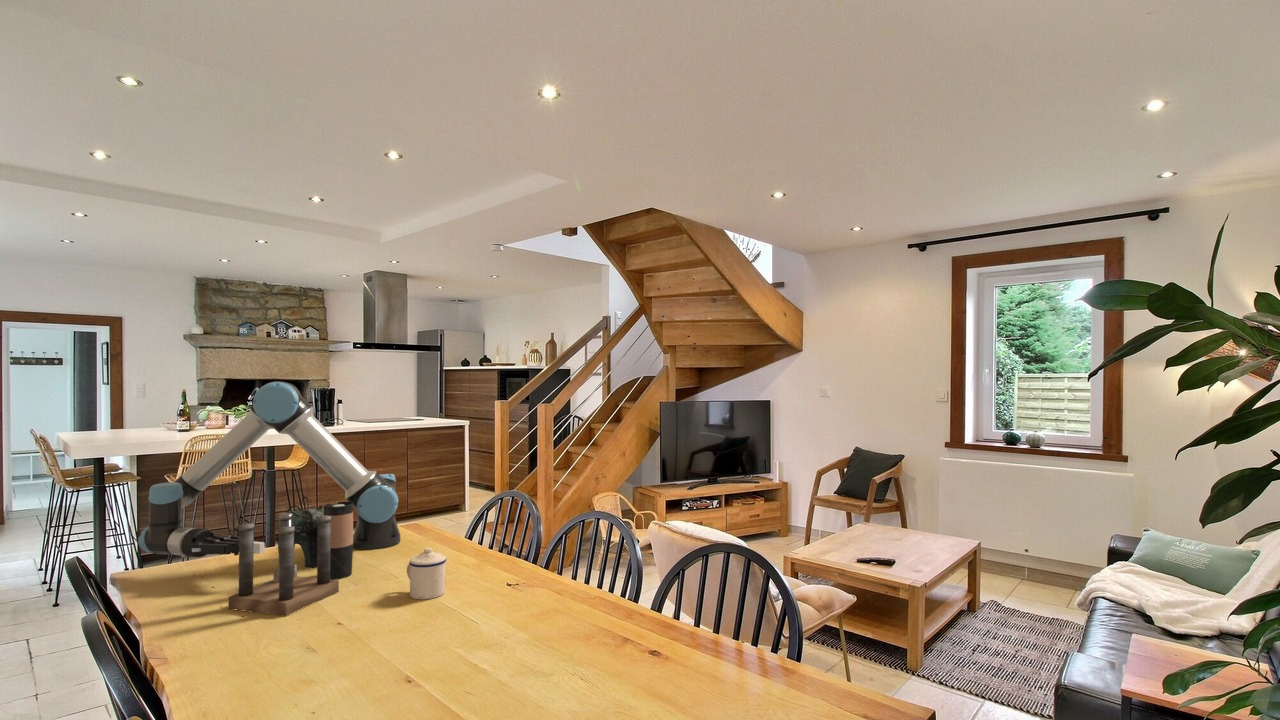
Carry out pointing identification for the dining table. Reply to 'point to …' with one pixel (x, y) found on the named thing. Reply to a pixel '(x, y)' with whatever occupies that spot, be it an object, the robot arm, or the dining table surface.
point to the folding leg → (285, 521)
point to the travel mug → (340, 539)
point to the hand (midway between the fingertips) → (261, 548)
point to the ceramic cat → (306, 532)
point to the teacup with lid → (427, 575)
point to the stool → (283, 574)
